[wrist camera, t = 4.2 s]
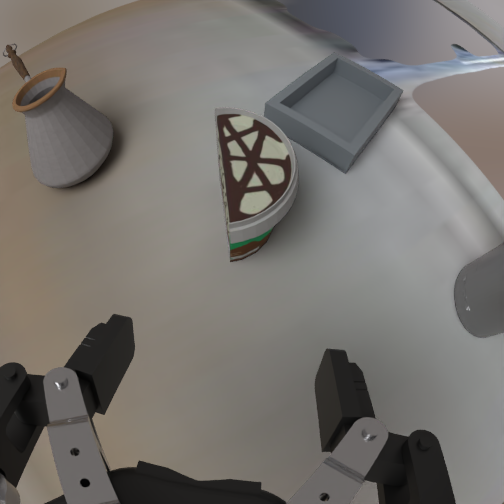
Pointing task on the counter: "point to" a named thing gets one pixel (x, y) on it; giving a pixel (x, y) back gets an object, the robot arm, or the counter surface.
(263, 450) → the counter surface
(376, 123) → the tray
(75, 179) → the coffee pot
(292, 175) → the food container
